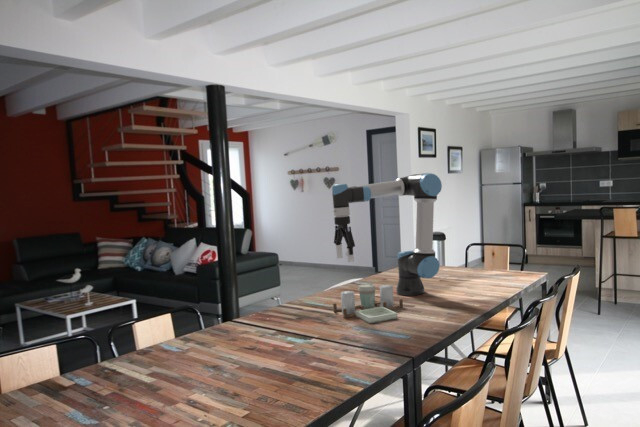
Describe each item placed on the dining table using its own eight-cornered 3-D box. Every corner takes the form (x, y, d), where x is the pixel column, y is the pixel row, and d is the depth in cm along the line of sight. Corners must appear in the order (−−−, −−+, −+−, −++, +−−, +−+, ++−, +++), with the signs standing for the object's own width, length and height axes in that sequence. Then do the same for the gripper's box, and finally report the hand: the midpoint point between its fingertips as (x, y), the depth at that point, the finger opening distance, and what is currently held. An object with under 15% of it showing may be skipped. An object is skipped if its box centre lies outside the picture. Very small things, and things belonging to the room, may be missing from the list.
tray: (382, 311, 229) (382, 306, 228) (397, 318, 216) (396, 312, 215) (355, 316, 224) (355, 310, 224) (369, 323, 211) (369, 317, 210)
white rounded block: (389, 304, 242) (388, 284, 241) (396, 306, 236) (394, 286, 235) (378, 305, 239) (377, 286, 239) (384, 308, 233) (383, 288, 233)
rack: (389, 301, 246) (389, 294, 245) (403, 307, 233) (403, 299, 233) (333, 311, 235) (332, 303, 234) (344, 318, 222) (343, 309, 222)
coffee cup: (371, 312, 228) (369, 287, 227) (356, 310, 233) (354, 286, 232) (380, 308, 235) (378, 284, 234) (365, 306, 240) (363, 283, 239)
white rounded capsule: (351, 310, 234) (350, 290, 234) (357, 313, 228) (356, 292, 228) (340, 312, 232) (338, 292, 231) (345, 315, 226) (344, 294, 225)
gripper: (325, 215, 241) (328, 257, 242) (345, 218, 218) (348, 264, 219) (339, 214, 244) (342, 255, 245) (360, 216, 220) (363, 262, 222)
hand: (345, 259), depth 232 cm, fingers open, 13 cm apart
